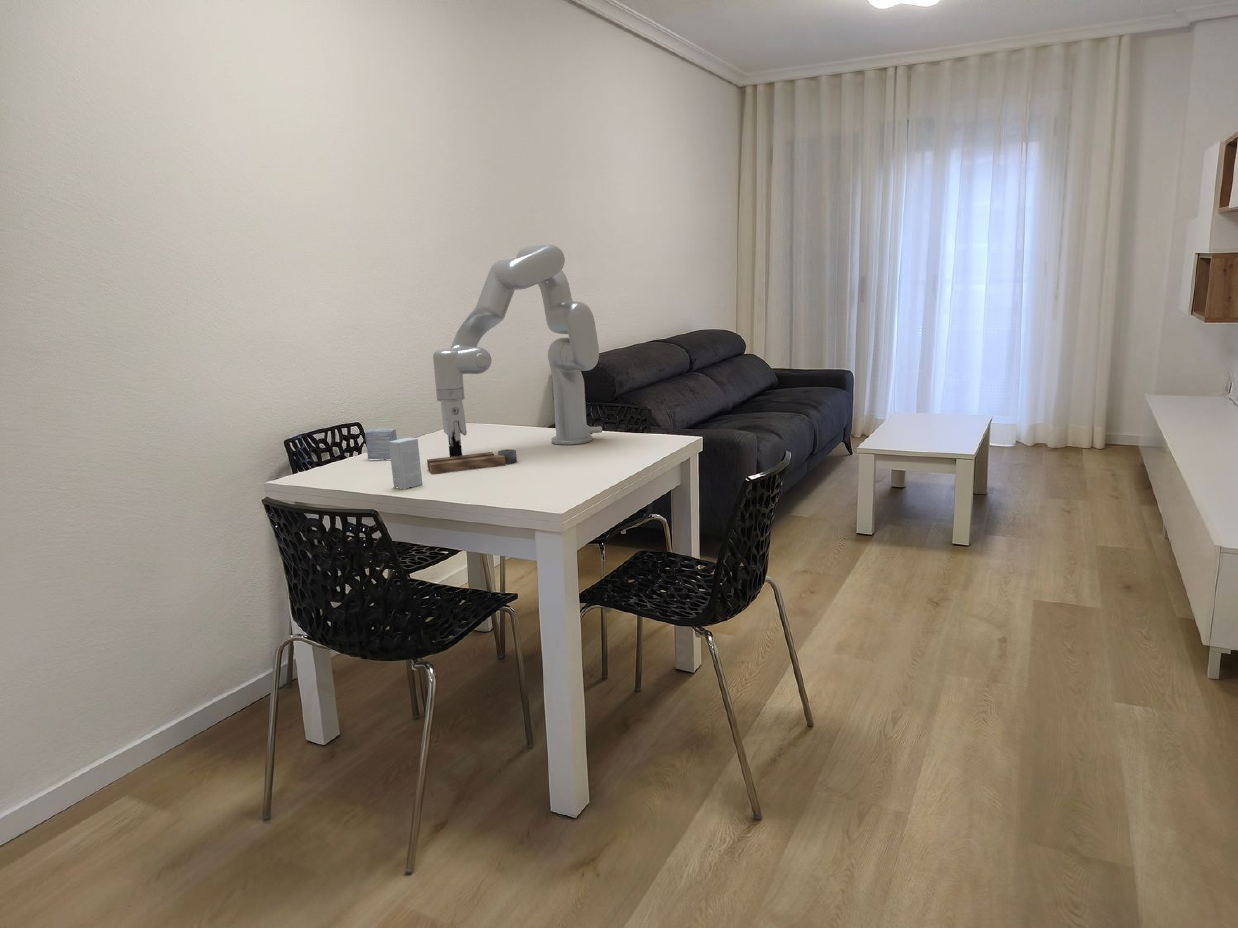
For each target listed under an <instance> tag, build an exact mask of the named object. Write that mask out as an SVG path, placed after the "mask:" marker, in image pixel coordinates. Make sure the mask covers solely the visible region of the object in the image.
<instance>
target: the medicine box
mask: <svg viewBox="0 0 1238 928" xmlns="http://www.w3.org/2000/svg"><path fill="white" fill-rule="evenodd" d="M364 433H365V434H364V435H365V444H366V452H367V460H368V459H391V458H390V449H389V441H394V440H398V438H397V429H396V428H376V429H375V428H371V429H368V430H367V431H365V432H364Z"/></svg>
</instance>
